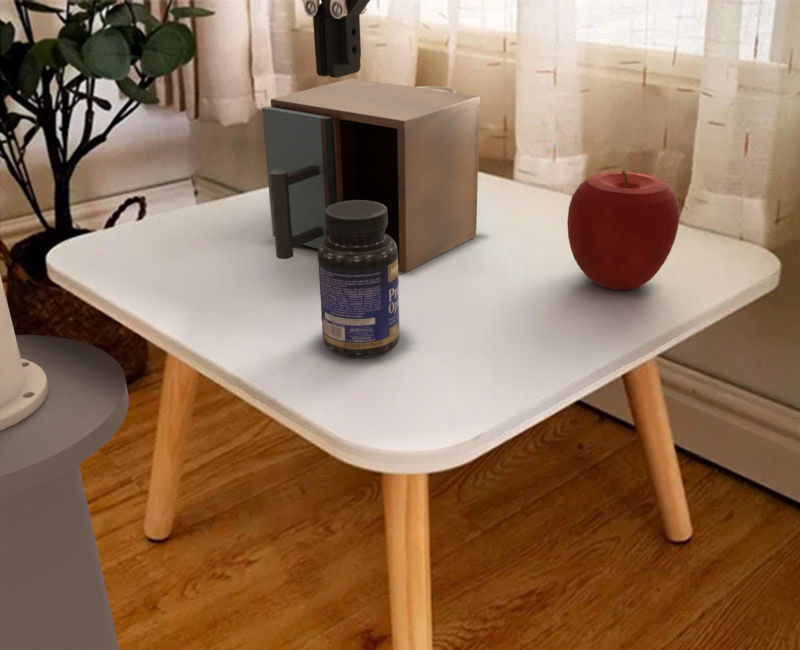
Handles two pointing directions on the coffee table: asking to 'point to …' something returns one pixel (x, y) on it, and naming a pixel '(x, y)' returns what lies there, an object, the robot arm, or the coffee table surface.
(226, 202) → the coffee table surface
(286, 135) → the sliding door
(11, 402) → the robot arm
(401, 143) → the cabinet
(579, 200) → the apple
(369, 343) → the pill bottle
